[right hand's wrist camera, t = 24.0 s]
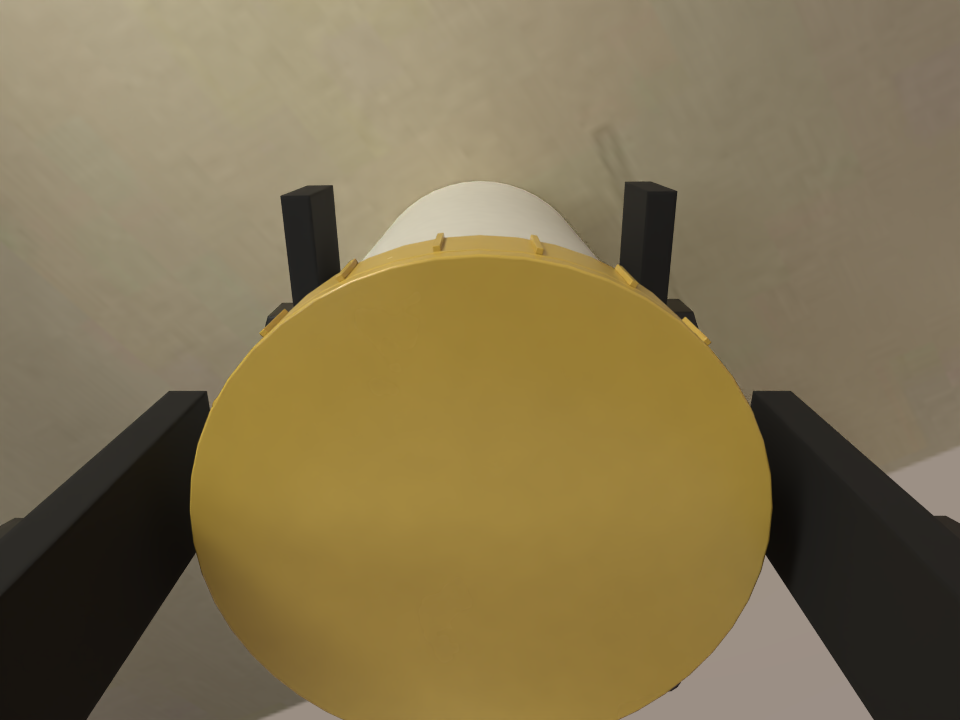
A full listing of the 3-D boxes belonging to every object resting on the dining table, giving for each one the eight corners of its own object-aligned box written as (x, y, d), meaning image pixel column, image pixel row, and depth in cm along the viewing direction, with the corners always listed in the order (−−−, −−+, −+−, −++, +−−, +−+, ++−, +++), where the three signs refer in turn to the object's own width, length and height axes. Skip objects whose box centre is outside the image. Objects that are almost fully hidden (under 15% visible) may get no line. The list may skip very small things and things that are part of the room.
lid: (135, 527, 12) (85, 587, 11) (421, 105, 10) (409, 104, 8) (521, 744, 14) (526, 820, 13) (845, 444, 12) (901, 494, 10)
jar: (428, 424, 27) (374, 741, 13) (331, 237, 24) (136, 394, 11) (620, 346, 26) (781, 607, 12) (541, 141, 23) (632, 174, 9)
